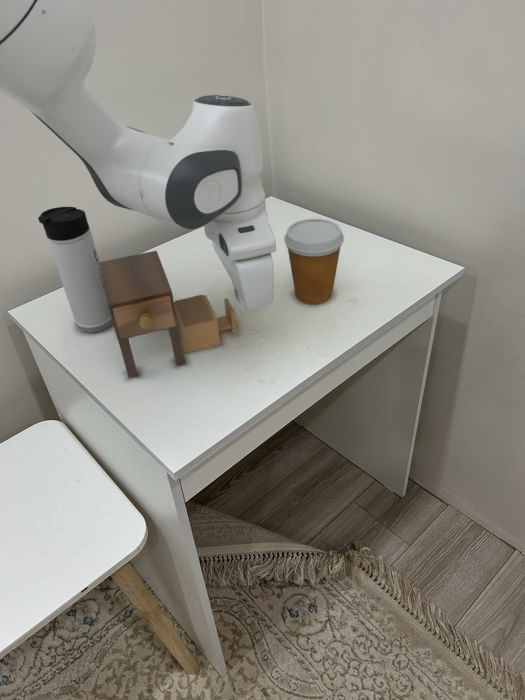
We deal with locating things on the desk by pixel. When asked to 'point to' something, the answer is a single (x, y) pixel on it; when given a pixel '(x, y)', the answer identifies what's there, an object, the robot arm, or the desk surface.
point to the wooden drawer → (202, 322)
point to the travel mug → (78, 266)
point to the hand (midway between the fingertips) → (243, 301)
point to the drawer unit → (140, 303)
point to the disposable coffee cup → (313, 258)
